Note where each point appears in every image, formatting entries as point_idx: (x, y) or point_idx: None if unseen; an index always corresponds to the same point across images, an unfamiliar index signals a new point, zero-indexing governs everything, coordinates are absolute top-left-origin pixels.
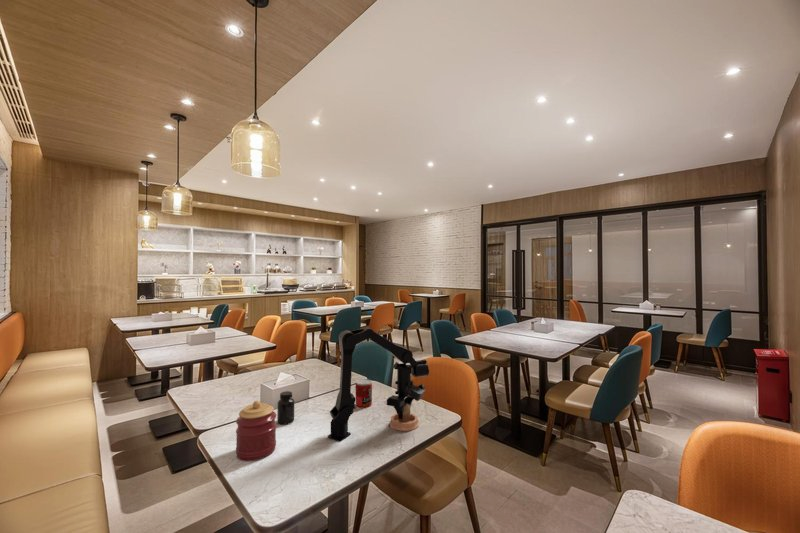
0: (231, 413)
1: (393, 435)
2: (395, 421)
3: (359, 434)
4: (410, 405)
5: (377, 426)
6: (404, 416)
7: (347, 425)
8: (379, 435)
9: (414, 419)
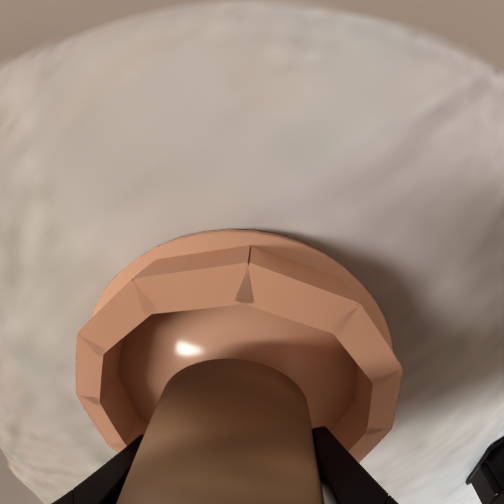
0: None
1: (469, 312)
2: (368, 435)
3: (484, 433)
4: (77, 501)
5: (381, 463)
6: (305, 437)
7: (492, 479)
8: (485, 375)
9: (118, 342)
